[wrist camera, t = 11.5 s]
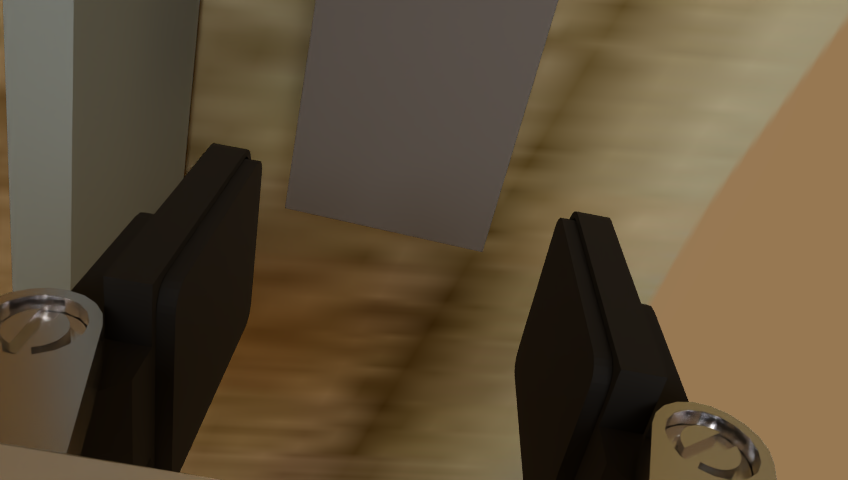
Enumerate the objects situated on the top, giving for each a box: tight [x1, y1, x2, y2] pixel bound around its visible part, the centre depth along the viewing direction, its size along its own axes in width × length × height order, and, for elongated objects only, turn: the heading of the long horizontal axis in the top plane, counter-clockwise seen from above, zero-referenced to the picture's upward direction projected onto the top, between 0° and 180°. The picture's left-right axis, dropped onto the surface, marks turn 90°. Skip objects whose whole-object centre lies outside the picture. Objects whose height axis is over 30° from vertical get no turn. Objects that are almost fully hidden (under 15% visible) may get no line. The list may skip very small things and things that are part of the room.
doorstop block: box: [285, 0, 558, 252], centre depth 23 cm, size 10×6×6 cm, turn 167°
